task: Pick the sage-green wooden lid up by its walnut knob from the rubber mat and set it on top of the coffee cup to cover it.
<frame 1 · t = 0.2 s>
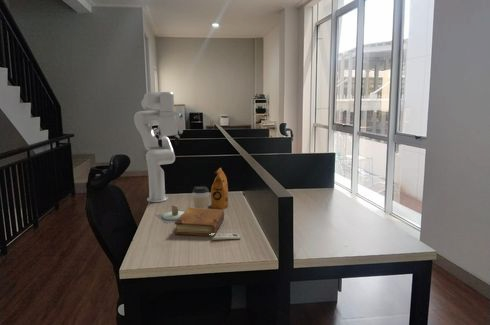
hand: (168, 146, 206), 36 cm above the table, tool pointing down, fingers open, 9 cm apart
lid: (175, 216, 196), point 1 cm above the table, touching mat
coffee package: (219, 206, 217), on the table
coffee cup: (201, 213, 204), on the table
diary: (200, 227, 181), on the table, touching mat
mat: (175, 217, 196), on the table
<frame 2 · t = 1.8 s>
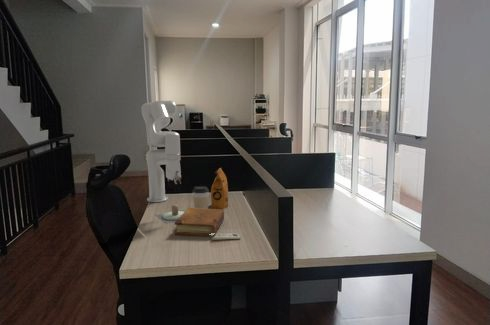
hand: (174, 189, 193), 15 cm above the table, tool pointing down, fingers open, 9 cm apart
nothing on the table moved.
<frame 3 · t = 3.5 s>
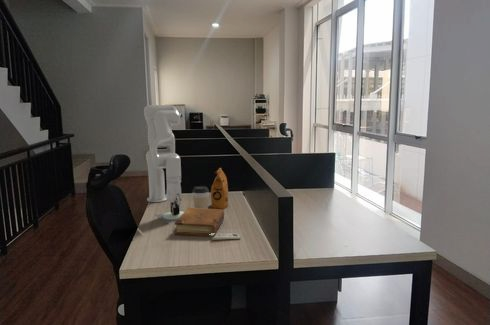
hand: (175, 213, 195), 3 cm above the table, tool pointing down, fingers closed on lid, 3 cm apart
lid: (175, 216, 196), point 1 cm above the table, touching gripper, mat
everything else where it was.
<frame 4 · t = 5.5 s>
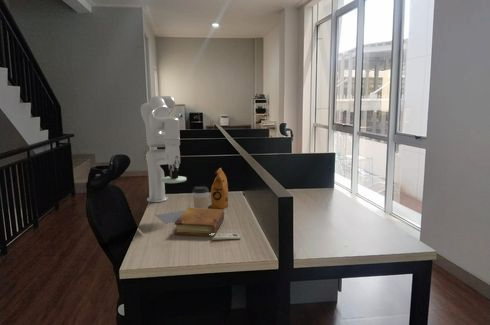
hand: (173, 177, 192), 22 cm above the table, tool pointing down, fingers closed on lid, 3 cm apart
lid: (173, 180, 193), point 20 cm above the table, touching gripper
everything else where it was.
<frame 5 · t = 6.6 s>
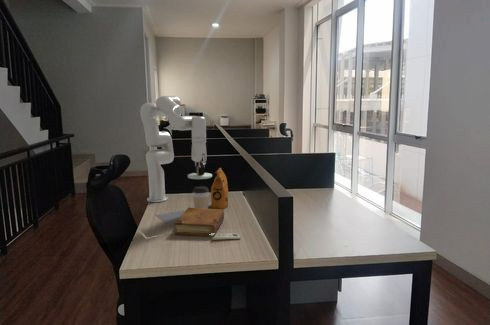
hand: (199, 173, 200), 22 cm above the table, tool pointing down, fingers closed on lid, 3 cm apart
lid: (200, 176, 200), point 20 cm above the table, touching gripper
everything else where it was.
when the fingers open (18 cm above the table, at t = 7.5 s): lid drops 2 cm, resting on coffee cup.
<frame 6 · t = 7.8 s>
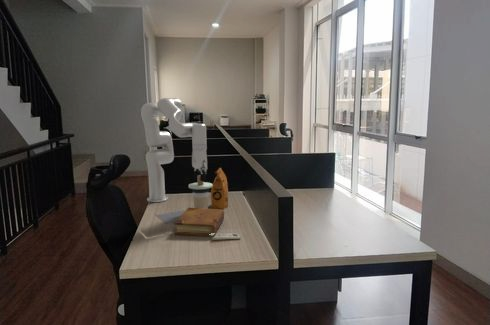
hand: (200, 179, 201), 19 cm above the table, tool pointing down, fingers open, 6 cm apart
lid: (200, 186, 201), point 15 cm above the table, touching coffee cup
coffee cup: (201, 213, 204), on the table, touching lid
everything else where it was.
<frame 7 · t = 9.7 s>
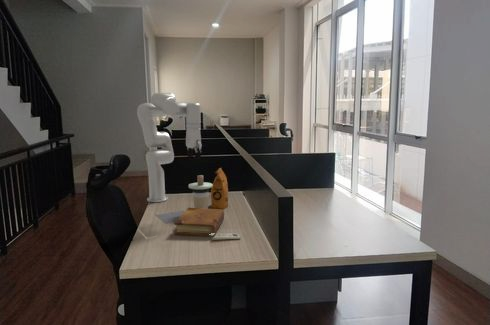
hand: (194, 158, 201), 30 cm above the table, tool pointing down, fingers open, 9 cm apart
nothing on the table moved.
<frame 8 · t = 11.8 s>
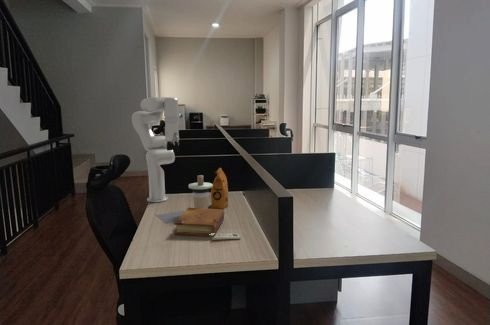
hand: (172, 151, 207), 33 cm above the table, tool pointing down, fingers open, 9 cm apart
nothing on the table moved.
at the end: lid 0.0 cm off-centre on the coffee cup, point 15.2 cm above the coffee cup's base; lid tilted 0°; the gripper is holding nothing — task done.
